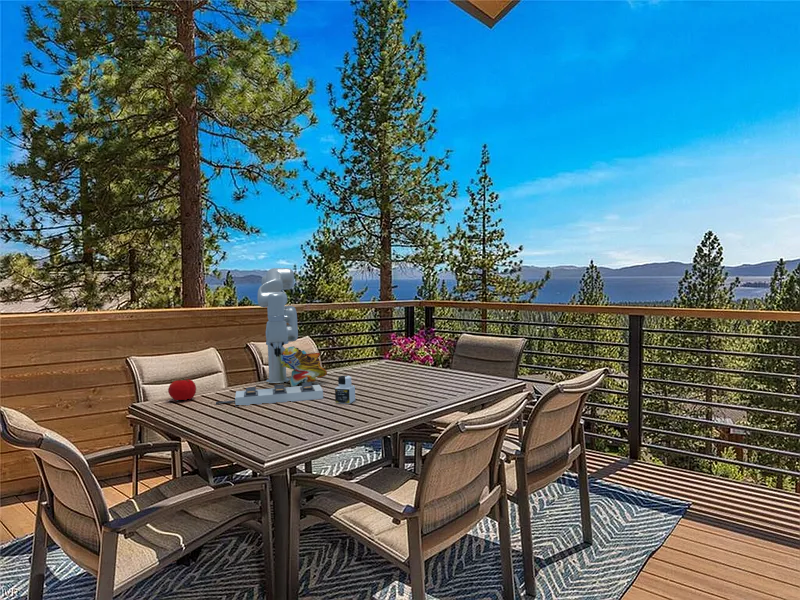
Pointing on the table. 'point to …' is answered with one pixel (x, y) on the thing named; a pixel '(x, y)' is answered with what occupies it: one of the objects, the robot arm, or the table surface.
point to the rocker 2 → (307, 386)
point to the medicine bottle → (344, 390)
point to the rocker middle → (279, 388)
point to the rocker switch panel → (277, 395)
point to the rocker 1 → (250, 390)
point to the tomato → (182, 389)
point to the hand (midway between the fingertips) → (277, 356)
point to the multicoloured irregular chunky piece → (302, 365)
